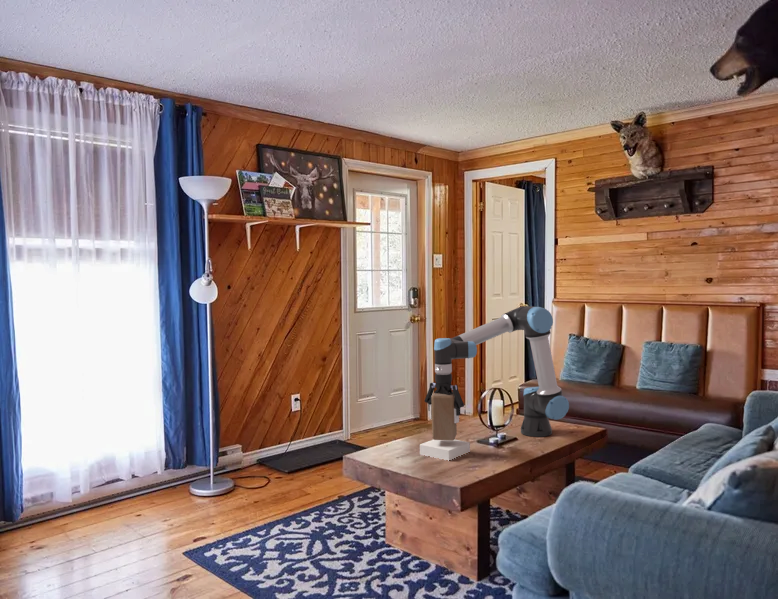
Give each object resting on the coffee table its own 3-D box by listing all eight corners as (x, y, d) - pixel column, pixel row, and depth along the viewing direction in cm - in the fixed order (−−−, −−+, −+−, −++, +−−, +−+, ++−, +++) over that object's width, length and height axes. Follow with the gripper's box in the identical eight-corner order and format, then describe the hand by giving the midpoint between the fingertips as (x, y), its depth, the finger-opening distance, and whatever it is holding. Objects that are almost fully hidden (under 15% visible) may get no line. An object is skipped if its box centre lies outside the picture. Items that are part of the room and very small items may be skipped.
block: (454, 441, 267) (453, 395, 267) (432, 440, 269) (431, 395, 269) (456, 435, 277) (456, 391, 276) (434, 434, 279) (434, 391, 278)
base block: (470, 453, 274) (469, 442, 274) (449, 462, 262) (448, 450, 262) (441, 447, 285) (441, 436, 285) (419, 455, 273) (419, 444, 273)
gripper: (416, 371, 278) (417, 418, 278) (461, 376, 261) (462, 426, 262) (426, 369, 283) (427, 415, 284) (471, 374, 267) (472, 422, 268)
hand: (444, 420), depth 273 cm, fingers closed on block, 13 cm apart
